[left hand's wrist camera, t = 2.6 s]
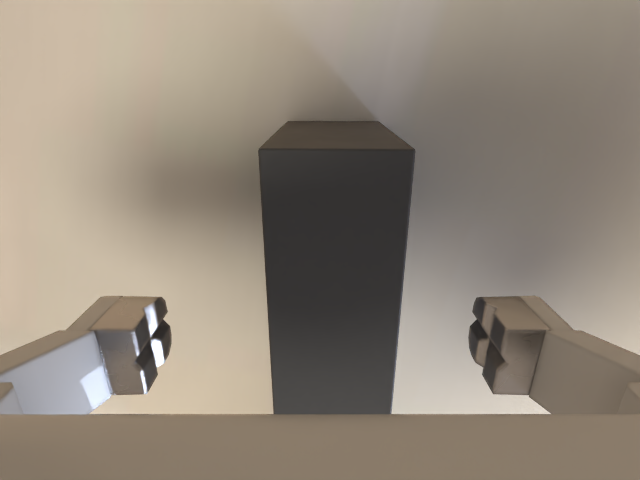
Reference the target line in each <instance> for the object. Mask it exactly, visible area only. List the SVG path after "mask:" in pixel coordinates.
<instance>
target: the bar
mask: <svg viewBox="0 0 640 480" xmlns="http://www.w3.org/2000/svg"><path fill="white" fill-rule="evenodd" d="M258 152H259V169H260V186H261V203H262V221H263V238H264V255H265V272H266V289H267V306H268V323H269V341H270V358H271V375H272V392H273V409H274V414H391V411H392V400H393V389H394V378H395V367H396V356H397V345H398V335H399V324H400V313H401V302H402V291H403V280H404V269H405V258H406V247H407V236H408V225H409V214H410V203H411V192H412V181H413V170H414V159H415V149H413V148H412V147H411V146H410V145H408V144H407V143H406V142H404V141H403V140H402V139H401V138H399V137H398V136H397V135H395V134H394V133H393V132H391V131H390V130H389V129H388V128H386V127H385V126H384V125H382V124H381V123H380V122H346V121H288V122H287V123H286V124H285V125H283V126H282V127H281V128H280V129H279V130H278V131H277V132H276V133H275V134H274V135H273V136H272V137H271V138H270V139H269V140H268V141H267V142H266V143H265V144H264V145H263V146H262V147H260V148H259V150H258Z"/></svg>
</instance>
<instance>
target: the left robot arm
mask: <svg viewBox="0 0 640 480" xmlns="http://www.w3.org/2000/svg"><path fill="white" fill-rule="evenodd" d="M166 313H167V307H166V302H165V300H164V299H163V298H162V297H140V296H124V297H123V296H104V297H100V298H99V299H98V300H97V301H96V302H95V303H94V304H93V305H92V306H91V307H90V308H89V309H88V310H86V311H85V312H84V313H83V314H82V315H81V316H80V317H79V318H78V319H77V320H76V321H75V322H74V323H73V324H72V325H71V326H70V327H69V328H68V329H67V330H66V331H57V332H55V333H52V334H50V335H47V336H45V337H43V338H40V339H38V340H36V341H33V342H31V343H29V344H26V345H24V346H21V347H19V348H17V349H14V350H12V351H10V352H7V353H5V354H2V355H0V480H640V355H637V354H635V353H633V352H630V351H628V350H626V349H623V348H621V347H618V346H616V345H614V344H611V343H609V342H607V341H604V340H602V339H600V338H597V337H595V336H593V335H590V334H588V333H585V332H583V331H574V330H573V329H572V328H571V327H570V326H569V325H568V324H567V323H566V322H565V321H564V320H563V319H562V318H561V317H560V316H559V315H558V314H557V313H556V312H555V311H554V310H553V309H552V308H550V307H549V306H548V305H547V304H546V303H545V302H544V301H543V300H542V299H541V298H540V297H537V296H509V297H479V298H476V300H475V302H474V306H473V313H474V315H475V317H476V318H477V320H476V321H475V322H474V323H473V324H472V325H471V326H470V330H469V348H470V351H471V355H472V357H473V359H474V361H475V362H476V363H477V364H479V365H480V366H482V367H483V373H482V375H483V377H484V379H485V380H486V382H487V384H488V386H489V387H490V389H491V391H492V393H493V394H508V395H529V397H530V398H531V399H533V400H534V401H535V402H537V403H538V404H539V405H541V406H542V407H543V408H544V409H546V410H547V411H548V412H550V413H551V414H89V413H90V412H92V411H93V410H94V409H96V408H97V407H98V406H100V405H101V404H102V403H104V402H105V401H106V400H107V399H109V398H110V397H111V395H132V394H147V393H148V391H149V389H150V387H151V386H152V384H153V382H154V380H155V379H156V377H157V375H158V373H157V367H158V366H160V365H161V364H163V363H164V362H165V361H166V359H167V357H168V355H169V351H170V347H171V330H170V326H169V325H168V324H167V323H166V322H165V321H164V320H163V318H164V317H165V315H166Z"/></svg>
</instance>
